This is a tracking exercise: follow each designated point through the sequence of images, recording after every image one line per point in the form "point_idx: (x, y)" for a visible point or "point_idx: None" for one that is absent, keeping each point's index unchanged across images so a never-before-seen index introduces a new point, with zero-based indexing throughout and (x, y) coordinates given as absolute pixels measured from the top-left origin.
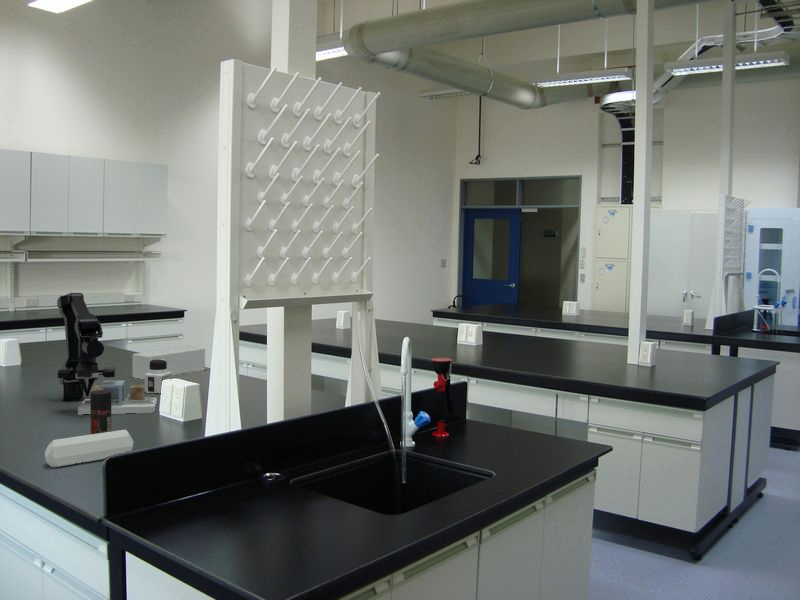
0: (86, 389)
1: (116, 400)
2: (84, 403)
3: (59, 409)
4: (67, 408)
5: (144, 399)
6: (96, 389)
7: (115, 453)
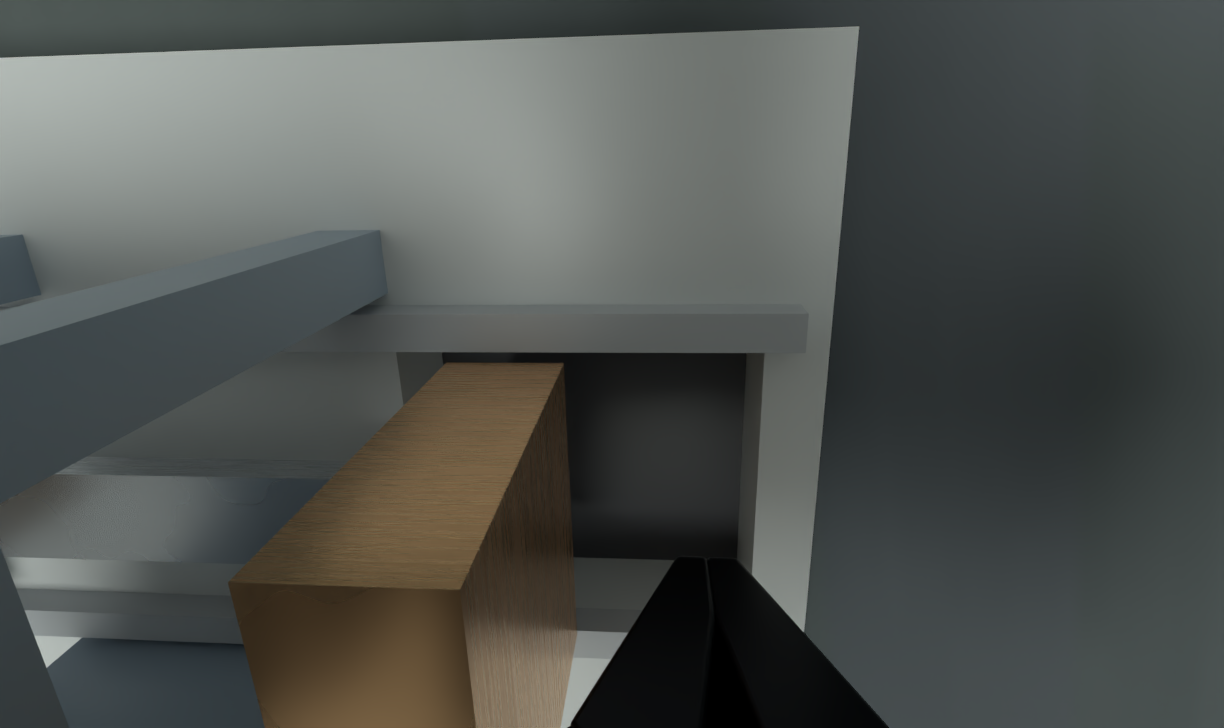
0: (747, 689)
1: (99, 464)
2: (759, 503)
3: (1160, 541)
4: (1026, 587)
5: None
6: (319, 546)
7: None
